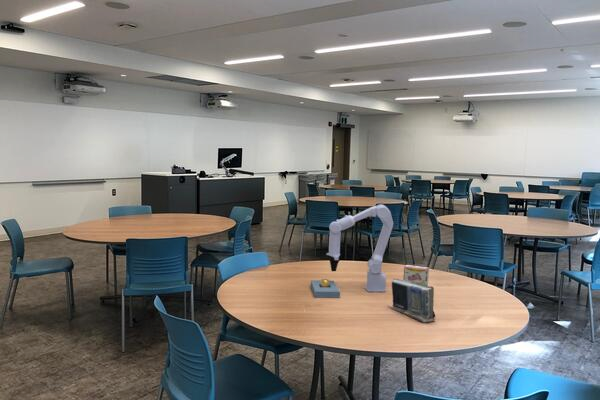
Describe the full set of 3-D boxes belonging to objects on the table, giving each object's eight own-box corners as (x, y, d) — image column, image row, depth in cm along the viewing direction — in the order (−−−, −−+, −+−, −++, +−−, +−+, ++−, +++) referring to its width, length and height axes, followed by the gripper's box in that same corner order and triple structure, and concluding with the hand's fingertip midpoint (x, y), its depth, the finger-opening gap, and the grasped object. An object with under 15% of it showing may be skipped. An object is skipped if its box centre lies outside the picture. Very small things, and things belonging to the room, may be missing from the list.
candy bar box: (401, 299, 220) (403, 266, 219) (404, 296, 225) (405, 264, 223) (425, 303, 216) (427, 269, 214) (427, 300, 220) (429, 267, 219)
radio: (388, 306, 209) (389, 274, 208) (403, 305, 212) (405, 273, 211) (419, 324, 188) (421, 289, 186) (436, 322, 191) (438, 287, 190)
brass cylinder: (328, 290, 232) (328, 279, 231) (329, 292, 228) (329, 281, 227) (320, 290, 231) (320, 278, 231) (321, 292, 227) (321, 281, 227)
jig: (333, 286, 240) (333, 280, 240) (339, 297, 220) (340, 291, 220) (310, 285, 239) (310, 280, 239) (315, 297, 219) (315, 291, 219)
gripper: (324, 242, 242) (323, 267, 243) (329, 247, 227) (328, 274, 228) (337, 242, 242) (337, 267, 243) (342, 247, 228) (342, 274, 229)
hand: (333, 271), depth 236 cm, fingers closed
